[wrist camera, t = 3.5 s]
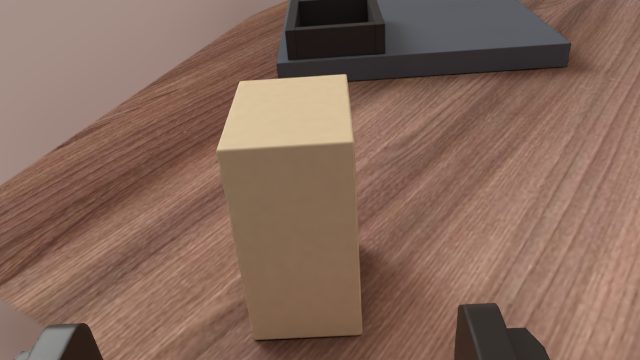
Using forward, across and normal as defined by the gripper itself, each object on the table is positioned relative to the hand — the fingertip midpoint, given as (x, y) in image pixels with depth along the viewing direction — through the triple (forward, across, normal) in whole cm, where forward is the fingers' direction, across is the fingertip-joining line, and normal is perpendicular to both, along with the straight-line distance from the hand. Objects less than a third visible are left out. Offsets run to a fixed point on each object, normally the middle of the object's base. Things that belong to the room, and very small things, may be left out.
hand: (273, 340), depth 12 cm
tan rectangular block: (+10, 0, +8) cm, 13 cm away
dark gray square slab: (+46, -9, +8) cm, 48 cm away
